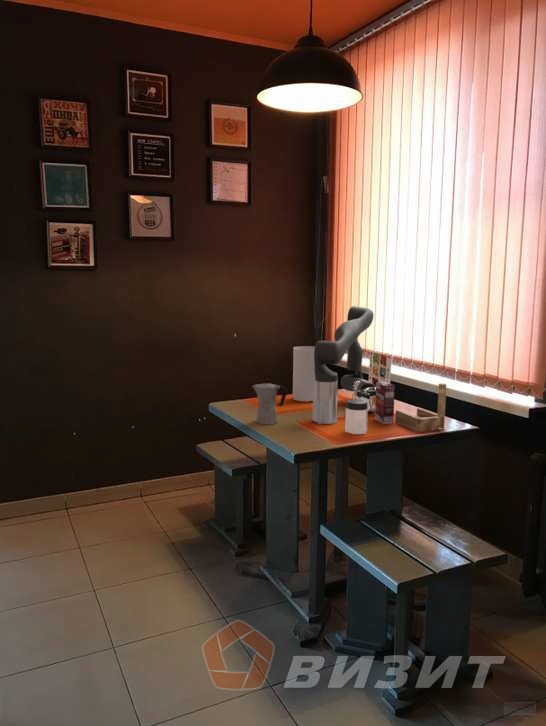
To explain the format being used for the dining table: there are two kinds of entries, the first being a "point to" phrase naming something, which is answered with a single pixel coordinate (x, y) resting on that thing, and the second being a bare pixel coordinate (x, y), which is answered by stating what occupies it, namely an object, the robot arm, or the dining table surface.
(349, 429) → the jar
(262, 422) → the coffeepot
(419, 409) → the bracket
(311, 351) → the cylinder vase
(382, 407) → the supplement box
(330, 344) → the robot arm
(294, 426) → the dining table surface
